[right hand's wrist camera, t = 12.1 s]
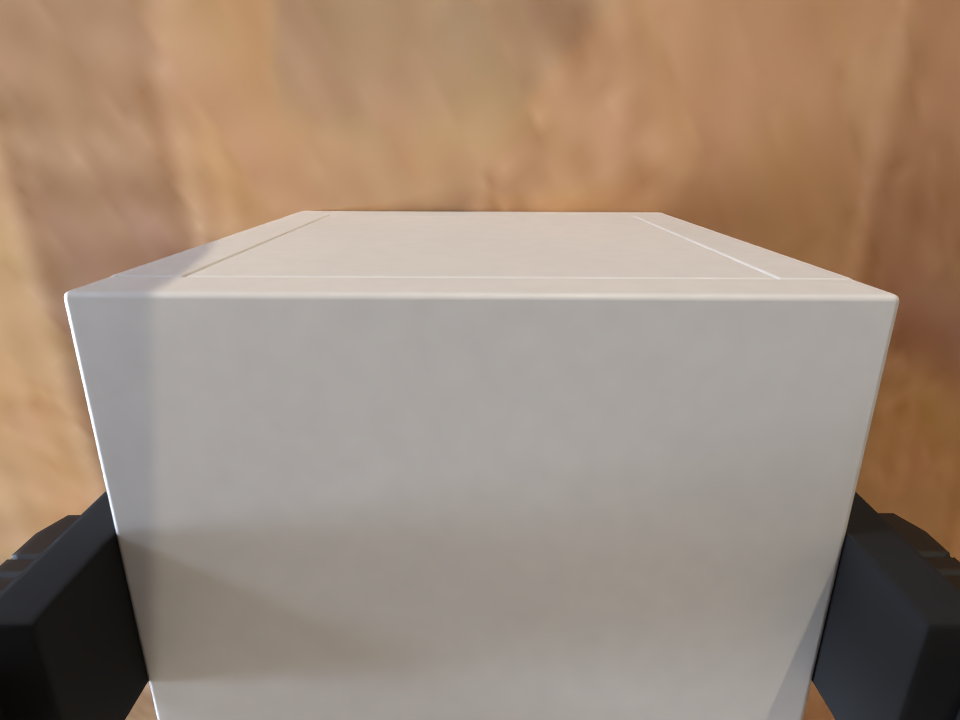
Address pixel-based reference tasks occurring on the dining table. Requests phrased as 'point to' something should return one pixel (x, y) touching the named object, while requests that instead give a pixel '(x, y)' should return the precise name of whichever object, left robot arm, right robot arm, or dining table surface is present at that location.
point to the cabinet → (480, 465)
